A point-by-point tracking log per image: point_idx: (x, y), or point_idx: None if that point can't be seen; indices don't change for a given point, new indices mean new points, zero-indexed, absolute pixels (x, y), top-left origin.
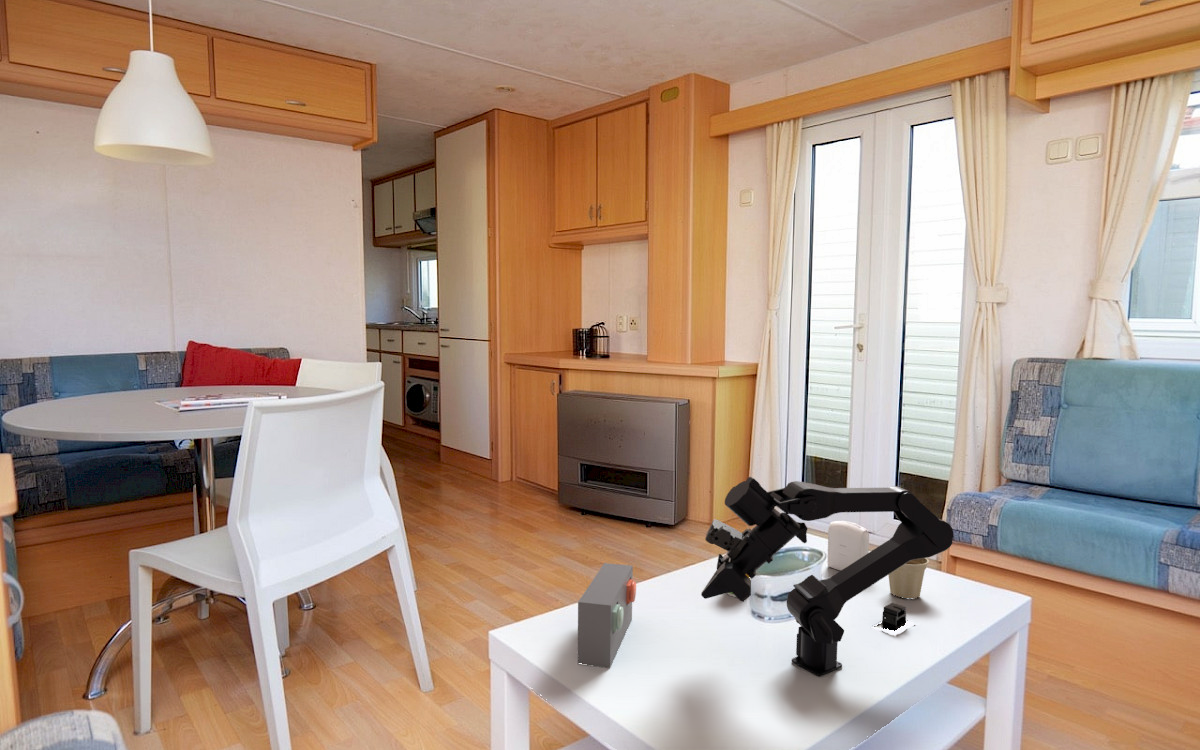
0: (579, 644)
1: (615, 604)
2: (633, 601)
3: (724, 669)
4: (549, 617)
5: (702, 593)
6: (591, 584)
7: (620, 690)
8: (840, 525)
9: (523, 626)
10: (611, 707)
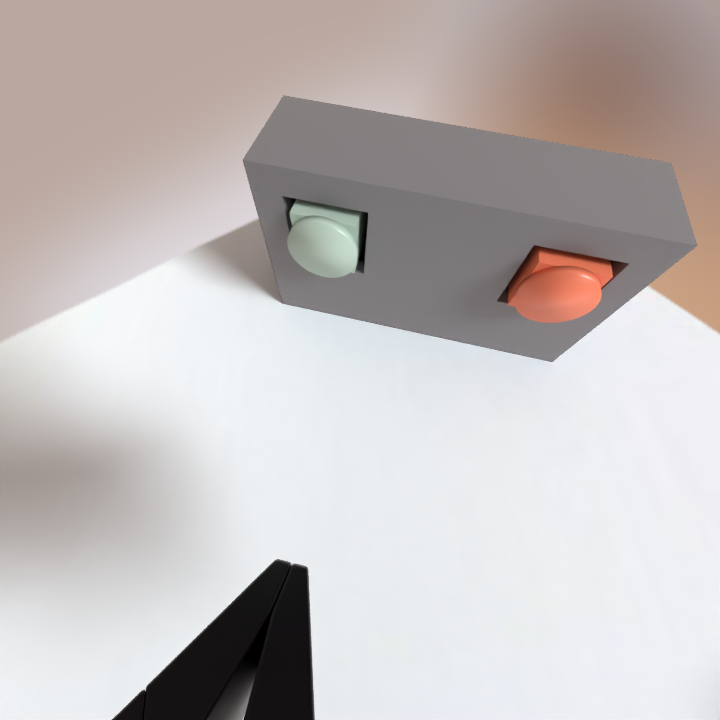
0: None
1: (326, 202)
2: (525, 315)
3: None
4: None
5: (266, 569)
6: (436, 125)
7: (181, 319)
8: None
9: None
10: (117, 300)
